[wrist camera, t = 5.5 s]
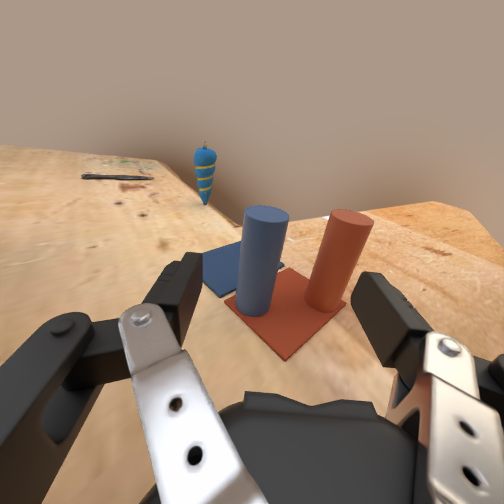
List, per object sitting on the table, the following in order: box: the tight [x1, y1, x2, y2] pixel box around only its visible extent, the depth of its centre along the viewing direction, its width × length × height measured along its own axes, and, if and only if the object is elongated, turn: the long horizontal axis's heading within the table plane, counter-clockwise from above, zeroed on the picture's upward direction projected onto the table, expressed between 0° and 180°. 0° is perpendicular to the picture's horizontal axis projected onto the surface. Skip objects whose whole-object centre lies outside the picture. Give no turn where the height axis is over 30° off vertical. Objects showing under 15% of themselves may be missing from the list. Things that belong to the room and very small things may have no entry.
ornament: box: [194, 144, 217, 205], centre depth 53 cm, size 5×5×15 cm
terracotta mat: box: [225, 267, 346, 361], centre depth 28 cm, size 10×13×1 cm
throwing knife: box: [81, 174, 153, 179], centre depth 68 cm, size 4×20×1 cm, turn 113°
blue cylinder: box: [235, 205, 289, 317], centre depth 24 cm, size 4×4×12 cm
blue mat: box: [202, 241, 284, 298], centre depth 35 cm, size 10×13×1 cm
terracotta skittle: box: [305, 209, 374, 312], centre depth 26 cm, size 4×4×12 cm
